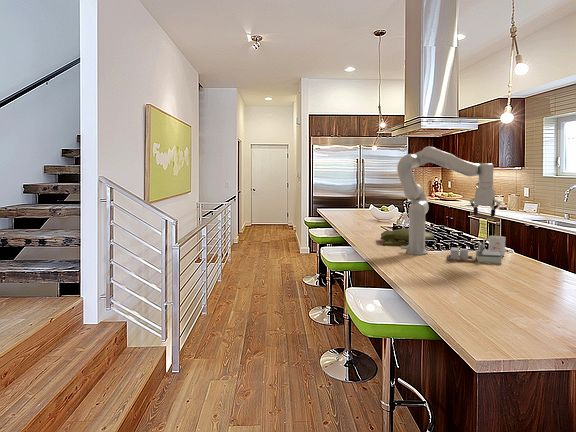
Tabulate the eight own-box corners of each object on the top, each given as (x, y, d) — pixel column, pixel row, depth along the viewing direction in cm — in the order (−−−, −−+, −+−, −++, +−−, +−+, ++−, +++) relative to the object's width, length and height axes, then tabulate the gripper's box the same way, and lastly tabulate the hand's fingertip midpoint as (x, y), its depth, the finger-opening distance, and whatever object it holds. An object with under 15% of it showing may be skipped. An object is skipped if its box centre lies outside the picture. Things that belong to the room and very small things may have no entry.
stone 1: (450, 258, 278) (450, 248, 277) (451, 257, 282) (451, 247, 281) (457, 259, 276) (458, 249, 276) (458, 258, 280) (458, 247, 279)
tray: (448, 261, 272) (448, 258, 271) (447, 256, 284) (447, 254, 283) (474, 262, 268) (475, 260, 268) (472, 258, 280) (472, 255, 280)
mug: (503, 254, 290) (504, 236, 289) (505, 257, 282) (506, 238, 281) (481, 253, 293) (482, 235, 292) (483, 256, 285) (484, 237, 284)
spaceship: (381, 246, 321) (381, 231, 320) (380, 238, 351) (380, 225, 350) (436, 247, 315) (436, 232, 314) (430, 240, 345) (431, 226, 344)
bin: (477, 262, 268) (478, 256, 267) (475, 258, 279) (475, 252, 279) (501, 263, 264) (501, 257, 264) (498, 259, 276) (498, 253, 275)
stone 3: (460, 260, 274) (460, 249, 273) (459, 258, 278) (459, 248, 277) (467, 260, 273) (468, 250, 272) (467, 259, 277) (467, 248, 276)
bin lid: (478, 255, 267) (478, 245, 267) (476, 251, 279) (476, 241, 278) (501, 256, 264) (502, 246, 263) (498, 252, 275) (499, 242, 275)
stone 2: (450, 260, 272) (451, 250, 272) (450, 259, 276) (450, 249, 276) (458, 261, 271) (458, 250, 271) (457, 259, 275) (458, 249, 274)
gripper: (467, 185, 277) (466, 215, 279) (498, 186, 264) (496, 217, 266) (473, 184, 282) (472, 214, 284) (503, 185, 270) (502, 216, 272)
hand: (484, 215), depth 275 cm, fingers open, 9 cm apart
